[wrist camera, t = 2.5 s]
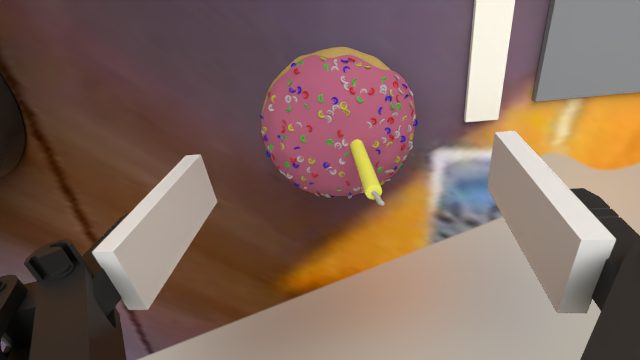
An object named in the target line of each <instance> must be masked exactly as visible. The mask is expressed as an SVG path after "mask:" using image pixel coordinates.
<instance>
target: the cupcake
mask: <svg viewBox="0 0 640 360" xmlns="http://www.w3.org/2000/svg"><path fill="white" fill-rule="evenodd" d="M260 116H261V124H262V131H261V132H262V135H263V136H262V138H263V141H264V143H265V146H266V148H267V150H268V151H267V153H266V154H267V156H268V157H271V159H272V161H273V162H274V164H275V166H276V167H277V168H278V170H279V171H280V172H281V174H283V175H284V176H285V177H286V178H288V179H289V180H290V181H291V182H293V183H294V184H295V185H296V186H298V187H299V188H301V189H302V190H304V191H306V192H308V193H310V192H311V193H315V194H316V195H317V196H319V195H318V194H321V195H323V196H326V195H327V196H326V197H334V196H348V198H351V197H352V195H356V194H359V193H365V194H366V196H367V197H368V198H369V199H376V202H377V203H378V204H379V205H381V206H383V205H384V204H385V203H384V201H382V200H381V197H380V196H381V194H382V189H381V186H380V185H383V184H384V182H385V181H389V180H390V179H389V178H390V177H392V176H393V175H394V174H395V173H396V172H397V171H398V170H399V168H400V167H402V166H403V164H404V162H405V159H406V158H407V155H408V153H409V151H410V150H411V148H412V146H413V145H412V144H413V142H412V141H413V137H414V129H415V126H417V123H418V122H417V120H416V115H415V106H414V99H413V94H412V92H411V90H410V88H409V87H408V85H407V83H406V82H405V80H404V79H403V78H402V77H401V76H400V75H399V74H398V73H397V72H395V71H391V70H390V69H389V68H388V67H387V66H386V65H385V64H384V63H382V62H381V61H380V60H379V59H377V58H376V57H374V56H371V55H368V54H365V53H362V52H360V51H357V50H354V49H351V48H347V47H334V48H329V49H324V50H320V51H317V52H315V53H311V54H307V55H303V56H300V57H298V58H296V59H295V60H294V61H293V62H291V63H290V64H289V65H288V66H287V67H286V68H285V69H284V70H283V71H282V72H281V73H280V74H279V75H278V76H277V78H276V79H275V80H274V81H273V83H272V84H271V86H270V88H269V90H268V93H267V96H266V99H265V102H264V105H263V109H262V115H260ZM415 122H416V124H415ZM268 154H269V155H268ZM388 179H389V180H388ZM350 195H351V196H350Z"/></svg>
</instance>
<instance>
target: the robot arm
mask: <svg viewBox="0 0 640 360" xmlns="http://www.w3.org/2000/svg"><path fill="white" fill-rule="evenodd" d="M24 145H25V133H24V126H23V122H22V118H21V115H20V112H19V109H18V106H17V104H16V102H15V99H14V97H13V95H12V94H11V92H10V90H9V88H8V86H7V85H6V83H5V81H4V80H3V78H2V77H1V75H0V177H2V176H4V175H5V174H7V173H9V172H10V171H11V170H13V169H14V168H15V167H16V165H17V164H18V163H19V161H20V159H21V157H22V154H23V151H24ZM487 189H488V190H489V192H490V194H491V196H492V198H493V199H494V201H495V203H496V205H497V207H498V208H499V210H500V212H501V214H502V215H503V217H504V219H505V221H506V223H507V224H508V226H509V228H510V230H511V232H512V233H513V235H514V237H515V239H516V240H517V242H518V244H519V246H520V248H521V249H522V251H523V253H524V255H525V256H526V258H527V260H528V262H529V263H530V265H531V267H532V269H533V271H534V273H535V274H536V276H537V278H538V279H539V282H540V283H541V285H542V287H543V289H544V291H545V292H546V294H547V296H548V298H549V299H550V301H551V303H552V305H553V307H554V308H555V310H556V312H557V313H587V311H588V309H589V306H590V304H591V301H592V299H593V300H594V301H595V303H596V304H597V306H598V307H599V308H600V310H601V313H600V316H599V318H598V320H597V323H596V325H595V327H594V329H593V332H592V334H591V336H590V339H589V341H588V343H587V346H586V348H585V351H584V353H583V355H582V357H581V360H640V236H639V235H638V234H637V233H636V232H635V231H634V230H633V229H632V228H631V227H630V226H629V225H628V224H627V223H626V222H625V221H624V220H623V219H622V218H619V217H618V214H617V213H616V212H615V211H613V210H612V209H610V207H609V206H608V205H607V204H606V203H605V202H604V201H603V200H602V199H601V198H600V197H599V196H597V195H595V194H593V193H591V192H589V191H587V190H586V189H583V188H579V189H569V188H568V187H567V186H566V185H565V184H564V183H563V182H562V181H561V179H560V178H559V177H558V176H557V175H556V174H555V173H554V172H553V171H552V170H551V169H550V168H549V167H548V166H547V165H546V163H545V162H544V161H543V160H542V159H541V158H540V157H539V156H538V155H537V154H536V153H535V152H534V151H533V150H532V148H531V147H530V146H529V145H528V144H527V143H526V142H525V141H524V140H523V139H522V138H521V137H520V136H519V135H518V133H517V132H516V131H505V132H495V135H494V142H493V150H492V157H491V165H490V172H489V179H488V187H487ZM216 203H217V200H216V197H215V194H214V191H213V188H212V185H211V183H210V180H209V177H208V174H207V171H206V168H205V166H204V163H203V160H202V157H201V154H200V155H187V156H185V157H184V158H183V159H182V160H181V161H180V162H179V163H178V164H177V165H176V166H175V167H174V168H173V169H172V170H171V171H170V172H169V173H168V174H167V175H166V177H165V178H164V179H163V180H162V181H161V182H160V183H159V184H158V185H157V186H156V187H155V188H154V189H153V190H152V191H151V192H150V193H149V194H148V195H147V196H146V197H145V198H144V199H143V200H142V201H141V202H140V203H139V204H138V205H137V206H136V207H135V208H134V209H133V210H132V211H131V212H129V213H128V214H126V215H125V216H123V217H122V218H120V219H119V220H118V221H117V222H116V223H115V224H114V225H113V226H112V227H111V229H109V230H108V231H107V232H106V233H105V234H104V236H102V237H101V238H100V239H99V240H98V241H97V242H96V243H95V244H94V245H93V246H92V247H91V248H90V249H89V250H88V251H87V252H86V253H85V254H84V255H83V256H82V257H81V256H80V254H79V253H78V251H77V250H76V248H75V247H74V245H73V244H72V242H71V241H69V240H59V241H55V242H52V243H49V244H47V245H45V246H43V247H41V248H39V249H38V250H36V251H35V252H33V253H32V254H31V255H30V256H29V257H28V258H27V259H26V261H25V263H24V265H25V266H26V267H27V268H28V270H29V271H30V272H31V273H32V275H33V276H34V277H35V278H36V280H37V281H36V282H32V283H28V284H24V285H23V284H22V283H21V281H20V280H19V279H18V278H17V277H16V275H6V276H2V277H0V342H1V340H2V341H3V342H4V343H5V344H6V345H7V346H6V348H5V350H4V352H2V350H1V345H0V360H126V354H125V348H124V342H123V335H122V329H121V323H120V316H119V313H118V311H117V310H116V308H115V306H116V305H117V303H118V302H119V301H120V299H122V300H123V302H124V303H125V305H126V307H127V308H128V310H148V309H149V307H150V306H151V304H152V303H153V301H154V299H155V298H156V296H157V295H158V293H159V292H160V290H161V289H162V287H163V285H164V284H165V282H166V281H167V279H168V278H169V276H170V275H171V273H172V271H173V270H174V268H175V267H176V265H177V264H178V262H179V261H180V259H181V257H182V256H183V254H184V253H185V251H186V250H187V248H188V247H189V245H190V243H191V242H192V240H193V239H194V237H195V236H196V234H197V233H198V231H199V229H200V228H201V226H202V225H203V223H204V222H205V220H206V219H207V217H208V215H209V214H210V212H211V211H212V209H213V208H214V206H215V205H216Z"/></svg>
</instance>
